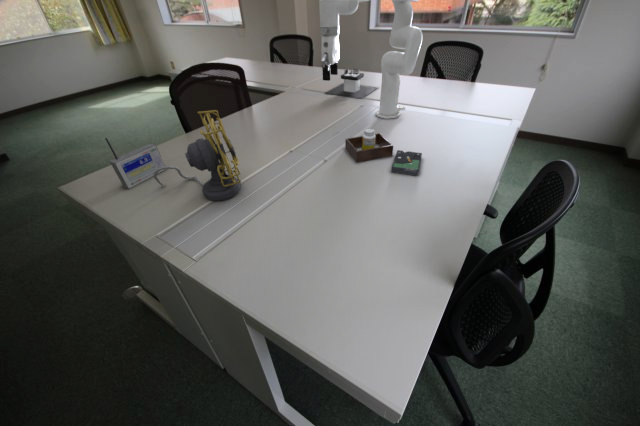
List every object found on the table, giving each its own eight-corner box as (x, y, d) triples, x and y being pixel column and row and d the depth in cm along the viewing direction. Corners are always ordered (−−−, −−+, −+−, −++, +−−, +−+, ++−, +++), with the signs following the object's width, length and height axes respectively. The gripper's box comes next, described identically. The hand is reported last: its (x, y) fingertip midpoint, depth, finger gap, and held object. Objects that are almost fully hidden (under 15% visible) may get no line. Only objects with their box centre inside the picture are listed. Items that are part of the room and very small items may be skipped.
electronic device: (128, 189, 115) (103, 141, 103) (119, 184, 118) (93, 138, 106) (167, 169, 126) (148, 124, 114) (157, 165, 129) (138, 121, 117)
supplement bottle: (366, 148, 133) (367, 126, 127) (376, 151, 130) (378, 129, 124) (359, 153, 130) (360, 131, 124) (370, 156, 127) (371, 134, 121)
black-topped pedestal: (378, 87, 205) (379, 66, 196) (361, 98, 188) (362, 76, 180) (343, 83, 217) (343, 63, 209) (324, 93, 200) (323, 72, 192)
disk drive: (396, 155, 127) (390, 172, 116) (396, 149, 125) (391, 166, 114) (421, 158, 124) (418, 176, 113) (422, 152, 122) (419, 169, 111)
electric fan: (248, 205, 103) (228, 122, 85) (151, 224, 97) (106, 140, 78) (242, 169, 123) (224, 96, 104) (161, 184, 117) (127, 108, 98)
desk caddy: (378, 143, 137) (379, 133, 134) (392, 156, 126) (393, 145, 123) (345, 149, 134) (345, 138, 131) (356, 162, 123) (356, 151, 120)
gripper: (331, 35, 110) (331, 83, 120) (345, 28, 122) (344, 72, 133) (312, 34, 112) (315, 82, 123) (328, 28, 125) (329, 72, 135)
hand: (330, 77), depth 128 cm, fingers open, 9 cm apart
